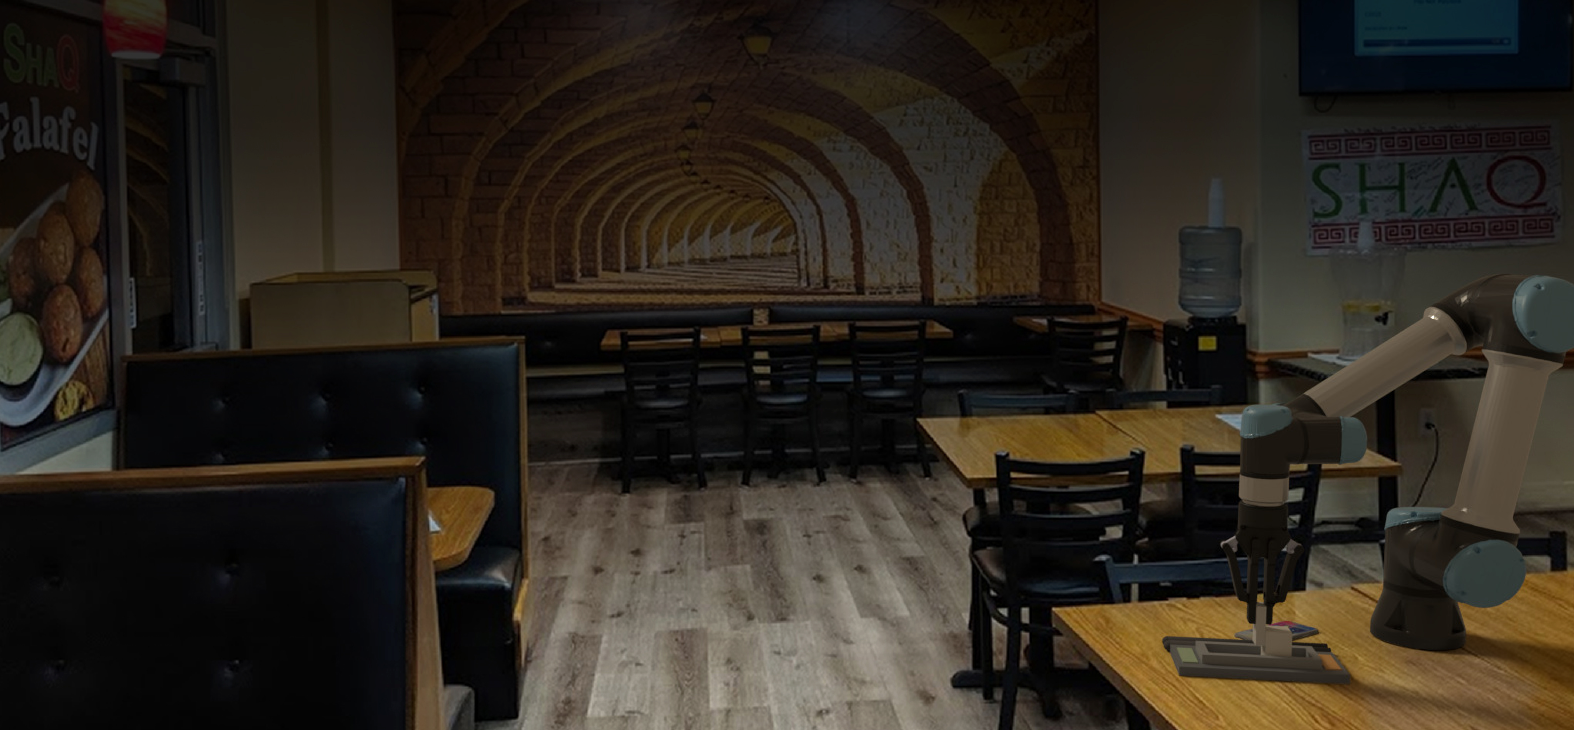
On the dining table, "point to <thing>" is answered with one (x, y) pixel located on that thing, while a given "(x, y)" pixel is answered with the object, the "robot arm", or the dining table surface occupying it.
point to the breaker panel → (1257, 663)
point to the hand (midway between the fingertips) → (1258, 642)
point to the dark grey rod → (1235, 641)
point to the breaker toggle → (1277, 641)
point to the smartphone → (1294, 627)
